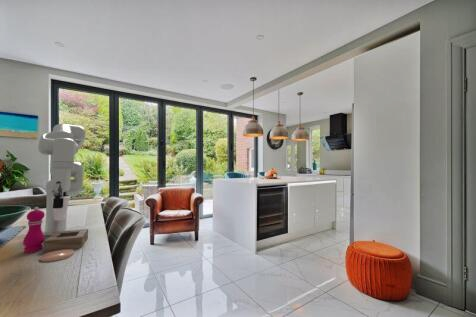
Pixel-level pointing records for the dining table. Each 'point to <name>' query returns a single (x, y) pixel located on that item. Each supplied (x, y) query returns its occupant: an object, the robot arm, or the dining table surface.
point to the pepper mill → (34, 231)
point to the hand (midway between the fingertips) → (60, 206)
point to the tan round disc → (56, 255)
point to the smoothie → (61, 209)
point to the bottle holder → (66, 240)
